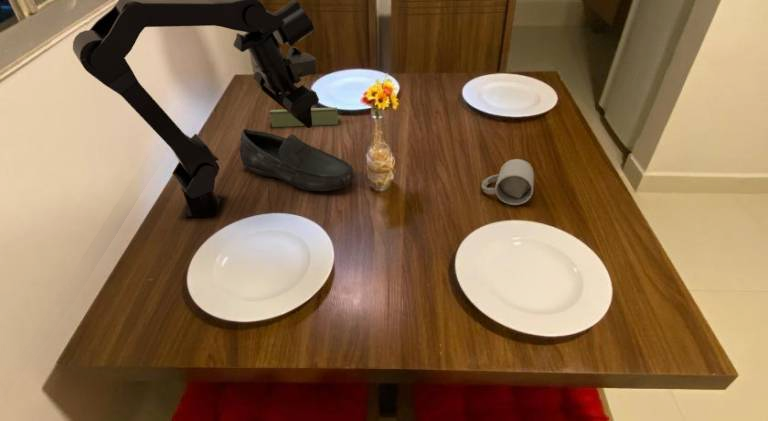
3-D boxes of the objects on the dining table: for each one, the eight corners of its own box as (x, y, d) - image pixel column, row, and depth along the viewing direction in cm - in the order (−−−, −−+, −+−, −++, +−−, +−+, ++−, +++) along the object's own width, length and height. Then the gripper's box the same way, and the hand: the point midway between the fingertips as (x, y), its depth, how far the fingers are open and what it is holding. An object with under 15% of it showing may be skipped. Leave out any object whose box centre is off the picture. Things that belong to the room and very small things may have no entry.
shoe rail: (337, 124, 122) (336, 109, 119) (272, 127, 121) (269, 112, 118) (338, 120, 124) (336, 105, 121) (273, 122, 123) (270, 107, 120)
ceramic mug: (531, 185, 99) (537, 157, 95) (529, 208, 94) (536, 178, 89) (483, 178, 102) (487, 150, 97) (478, 200, 96) (482, 171, 91)
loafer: (345, 201, 96) (341, 163, 90) (231, 178, 104) (220, 140, 97) (362, 175, 104) (360, 137, 97) (254, 154, 111) (245, 118, 104)
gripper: (325, 51, 83) (351, 115, 95) (281, 25, 95) (308, 85, 107) (277, 83, 81) (309, 144, 93) (237, 52, 92) (270, 110, 104)
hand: (300, 118), depth 99 cm, fingers open, 9 cm apart
